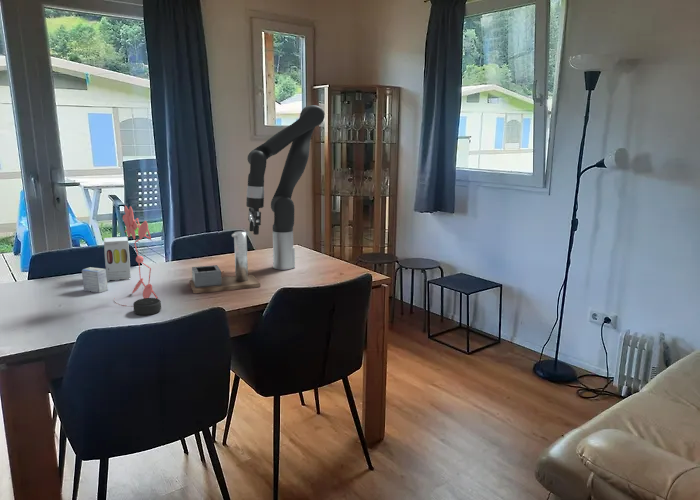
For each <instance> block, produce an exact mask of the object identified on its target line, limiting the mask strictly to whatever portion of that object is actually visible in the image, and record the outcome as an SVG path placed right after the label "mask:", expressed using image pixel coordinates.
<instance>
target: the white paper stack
mask: <svg viewBox="0 0 700 500" xmlns="http://www.w3.org/2000/svg"><path fill="white" fill-rule="evenodd" d="M81 277H82V284H83V286H82V287H83V291H84V292H90V291H91V293H98V294H99V293H100V294H101V293H103V291H104V292H106V291H108V290H109V287H108V281H107V277H106V268H101V267H93V266H92V267H91V266H90V267H86V268H83V269H82V270H81Z"/></svg>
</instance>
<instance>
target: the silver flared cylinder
mask: <svg viewBox="0 0 700 500" xmlns="http://www.w3.org/2000/svg"><path fill="white" fill-rule="evenodd" d="M249 232H250V231H248V230H246V231H243V230H242V231H240V230H239V231H238V230H237V231H234V232H233V233H231V237H232V238H233V244H234V245H233V246H234V268H235V272H234V274H235V276H236V281H237V282H245V281H248V275H249V269H248V268H249V265H248V264H249V263H248V239H247V238H248V237H247V236H249V234H250V233H249Z"/></svg>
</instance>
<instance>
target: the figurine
mask: <svg viewBox="0 0 700 500" xmlns="http://www.w3.org/2000/svg"><path fill="white" fill-rule="evenodd" d="M122 221H123V223H124V225H125V230H124V233H126V234H127V238H132V239H133V240H135V241H134V242H133V245H134V248H135V251H136V252H135V253H136V257H135V262H137V263H138V271H139V272H138V273H139V274H138V275H139V280H138V282H137V283H136V285H135V286H134V288H133V289H132V292H131V294H135V292H136V291H137V290H138V289H139V287H141V284H142V286H143V291H142V299H143V298H151V295H153V296H154V298H157V299H159V298H158V296H157V294H156V293H155V291H154V290H153V285H152V284H151V283H150V281H151V273H152V272H151V271H152V268H151V267H150V266H149V265H147V264H146V263H144V257H143V256H142V255H139V252H138V248H137V244H136V243H137V242H139V241H141V240H142V239H144V237H145V238H147V240H150V241H152V236H151V233H150V230H149V224H148V221H147V220H144V221H143V222H142V223H141V224H140V221H139V217H137V218H135V217H134V211H133V208H132V206H131V205H130V206H129V208H128V206H127V205H124V214H123V215H122ZM135 230H136V231H137V235H138V237H139V238H138V239H137V240H136V231H135ZM147 235H148V236H147ZM141 264H142V265H144V266H146V267H147V268H148V269H149V272H148V274H149V275H148V283H147V284H145V283H144V278H143V277H141V266H140V265H141ZM114 300H115V297H114V299H113V303H114V304H116V305H119V306H121V304H120V303H118V302H116V301H114ZM122 307H126V304H125V305H124V304H122Z"/></svg>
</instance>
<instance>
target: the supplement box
mask: <svg viewBox="0 0 700 500" xmlns="http://www.w3.org/2000/svg"><path fill="white" fill-rule="evenodd" d="M103 239H104V240H103V244H104V245H103V248H104V249H103V250H104V263H105V269H106V277H107V282H110V281H109V280H115V281H120V280H119V279H127V280H130V279H129V278H131V279H132V276H131V275H132V274H131V261H130V260H131V258H130V248H129V247H130V246H129V237H128V236H121V237H120V236H119V237H118V236H114V237H104V238H103Z"/></svg>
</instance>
